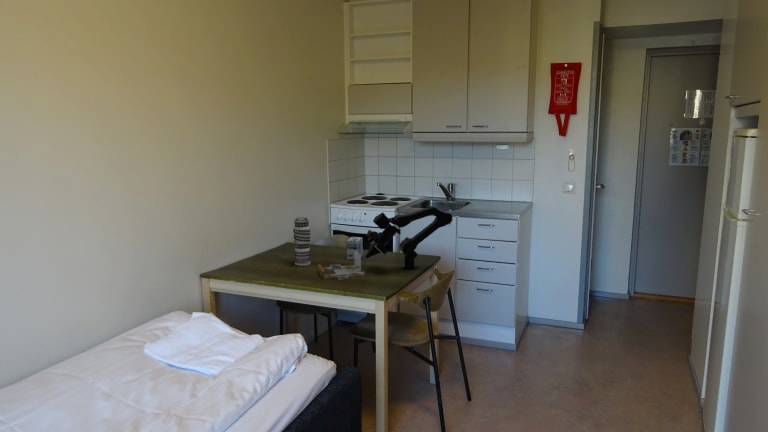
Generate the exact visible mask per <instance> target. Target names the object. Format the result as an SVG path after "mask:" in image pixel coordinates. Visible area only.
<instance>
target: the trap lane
mask: <svg viewBox="0 0 768 432" xmlns="http://www.w3.org/2000/svg"><path fill="white" fill-rule="evenodd" d="M351 268H355V264H354V265H344V266H342V265H341V264H340V263H339V264H330V265H329V267H322V265H321V264H319V263H318V264H317V272H318V273H319V275H320V277H321V278H322V279H333V278H336V279H337V280H338V281H341V280H342V281H343V280H344V281H345V280H350V277H356V276H357V277H358V276H359V277H360V276H365V271H361V272H356V273H346V276H338V275H337V274H335V273H334V274H332V273H331V274H325V272H328V271H329V272H331V271H334V270H339V269H351Z"/></svg>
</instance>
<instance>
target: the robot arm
mask: <svg viewBox="0 0 768 432" xmlns="http://www.w3.org/2000/svg"><path fill="white" fill-rule="evenodd" d="M432 215H433V216H434V217H435V218H434V220H433V221H432V222H431V223H429V224H427V226H425V227H424V228H422V230H419V232H418V233H416V234H415V235H414V236H412V237H411V238H410V237H408V236H407V237H405V238H404V239H402V240H401V241H400V243H399V247H398V249H399V252H401V253H402V256H403V255H404V256H403V265H402V266H401V269H405V270H406V269H407V270H414V269H416V268H418V265H416V258H417V257H418V253H417V251H415V250H416V249H417V247H418V245H419V244H421V242H423V241H424V240H425V239H428V237H429V236H430V235H432V234H434V232H436V231H437V230H438V229H439V228H442V227H443V228H444V227H445V226H447V225H450V224H451V223H452V222H453V215H452V213H449V212H447V211H445V210H444V211H442V210H440V209H438V208H437V207H436V206H433V205H429V206H428V207H425V208H423V209H418V210H416V211H414V212H410V213H401V214H395V215H394V216H393V217H388V216H386V214H385V213H384V212H381V213H379V214H378V215H375V216H374V219H373V220H372V222H373V224H375V225H376V226H377V227H378V228H379V229H381V230H382V232H381V231H379V232H378V231H376V230H374V231H373V230H370V229H368V230H367V233H366V234H365V235H366V237H368V238H367V241H368V242H369V248H368V250H367V252H366V254H365V258H366V259H369V258H371V257H373V256H376V255H378V254H381V253H382V254H383V255H386V254H387V253H388V249H387V247H386V245H387V243H390V242H391V240H392V238H393V237H394V236H395V235H396V234H398V235H401V234H402V233H401V231H402V230H401V228H404V227H407V226H408V225H410V224H411V223H412V222H414V221H417V220H420V219H421V220H422V219H423V218H426V217H429V216H432ZM397 227H398V228H397Z"/></svg>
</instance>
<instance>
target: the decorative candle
mask: <svg viewBox="0 0 768 432" xmlns="http://www.w3.org/2000/svg"><path fill="white" fill-rule="evenodd" d="M293 221H294V224H293V225H294V227H293V229H292V230H293V231H292V232H293V239H294V240H293V243H294V245H295V247H294V264H295V266H296V265H297V266H308V265H311V257H312V256H311V248H310V243H311V229H310V225H309V223H310V219H308V217H305V216H304V217H303V216H299V217H296V218H295V219H294V220H293Z"/></svg>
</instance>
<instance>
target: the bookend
mask: <svg viewBox="0 0 768 432" xmlns="http://www.w3.org/2000/svg"><path fill="white" fill-rule="evenodd" d="M354 265H355V268H351V269H339V270H333V273H334V274H337V275H338V276H346V273H356V272H362V257H361V255H360V254H359V253H358V252H357V251H355V259H354Z"/></svg>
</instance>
